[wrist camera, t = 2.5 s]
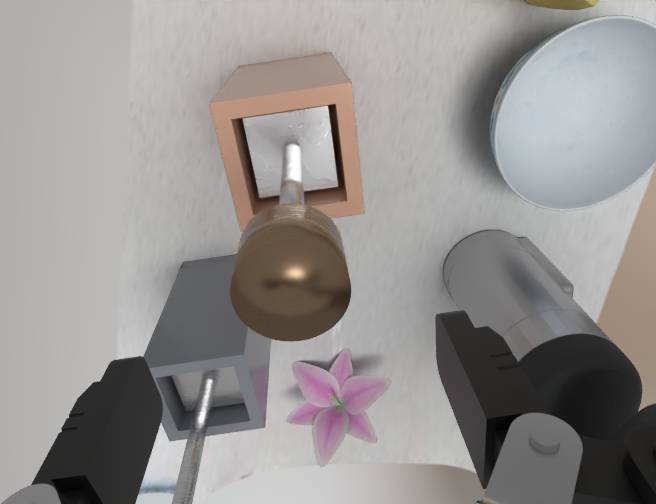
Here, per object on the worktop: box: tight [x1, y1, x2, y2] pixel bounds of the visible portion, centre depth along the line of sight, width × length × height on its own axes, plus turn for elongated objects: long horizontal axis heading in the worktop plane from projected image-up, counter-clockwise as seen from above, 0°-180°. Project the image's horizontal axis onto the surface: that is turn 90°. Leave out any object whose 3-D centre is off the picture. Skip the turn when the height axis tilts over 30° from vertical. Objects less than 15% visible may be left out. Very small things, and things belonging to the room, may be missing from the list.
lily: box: [286, 349, 391, 468], centre depth 55 cm, size 12×12×10 cm
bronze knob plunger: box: [230, 105, 351, 341], centre depth 22 cm, size 5×5×16 cm
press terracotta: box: [209, 53, 365, 231], centre depth 35 cm, size 8×8×16 cm
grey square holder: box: [143, 255, 271, 441], centre depth 43 cm, size 8×8×16 cm
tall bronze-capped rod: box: [172, 366, 245, 504], centre depth 31 cm, size 5×5×16 cm
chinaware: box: [490, 15, 656, 211], centre depth 40 cm, size 15×15×8 cm
